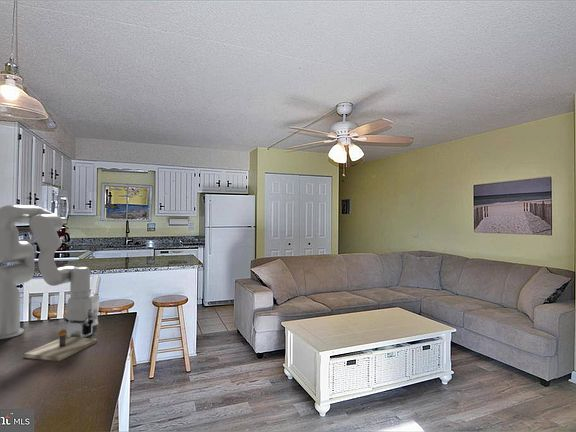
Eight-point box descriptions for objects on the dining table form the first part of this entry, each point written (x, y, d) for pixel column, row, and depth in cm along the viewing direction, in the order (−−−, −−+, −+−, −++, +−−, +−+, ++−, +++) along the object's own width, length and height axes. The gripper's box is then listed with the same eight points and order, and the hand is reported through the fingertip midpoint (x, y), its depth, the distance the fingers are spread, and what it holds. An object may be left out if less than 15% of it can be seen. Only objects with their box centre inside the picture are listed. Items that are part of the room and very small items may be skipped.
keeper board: (23, 357, 128) (23, 336, 128) (64, 339, 147) (65, 321, 147) (59, 360, 126) (59, 339, 126) (96, 342, 144) (97, 323, 144)
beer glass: (86, 328, 163) (87, 297, 163) (80, 325, 167) (81, 295, 167) (101, 324, 168) (102, 294, 168) (95, 321, 172) (95, 292, 172)
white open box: (66, 338, 149) (66, 322, 149) (79, 333, 156) (79, 318, 156) (80, 339, 147) (80, 323, 147) (92, 334, 154) (92, 318, 154)
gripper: (56, 295, 149) (56, 334, 149) (90, 297, 146) (90, 337, 146) (70, 291, 157) (70, 329, 157) (103, 293, 154) (102, 331, 154)
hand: (79, 333), depth 152 cm, fingers open, 7 cm apart
